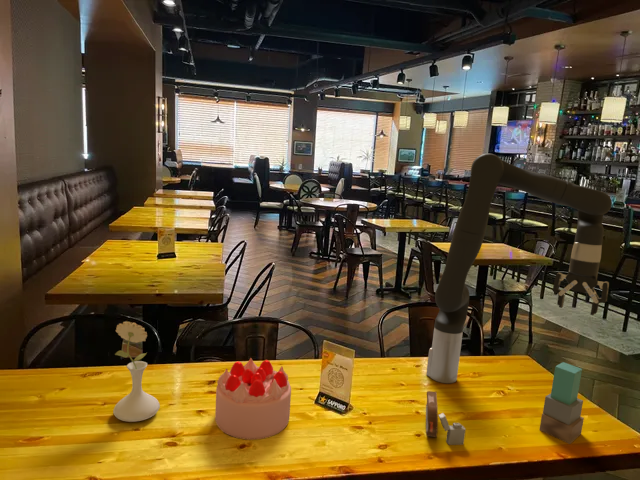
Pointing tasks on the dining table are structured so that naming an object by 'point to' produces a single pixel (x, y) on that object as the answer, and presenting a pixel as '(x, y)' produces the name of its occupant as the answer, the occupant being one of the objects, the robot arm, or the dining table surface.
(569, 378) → the teal pillar
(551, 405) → the grey square block
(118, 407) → the flower in vase
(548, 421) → the walnut base block
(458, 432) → the lighter
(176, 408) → the dining table surface
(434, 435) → the tin
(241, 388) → the cake
